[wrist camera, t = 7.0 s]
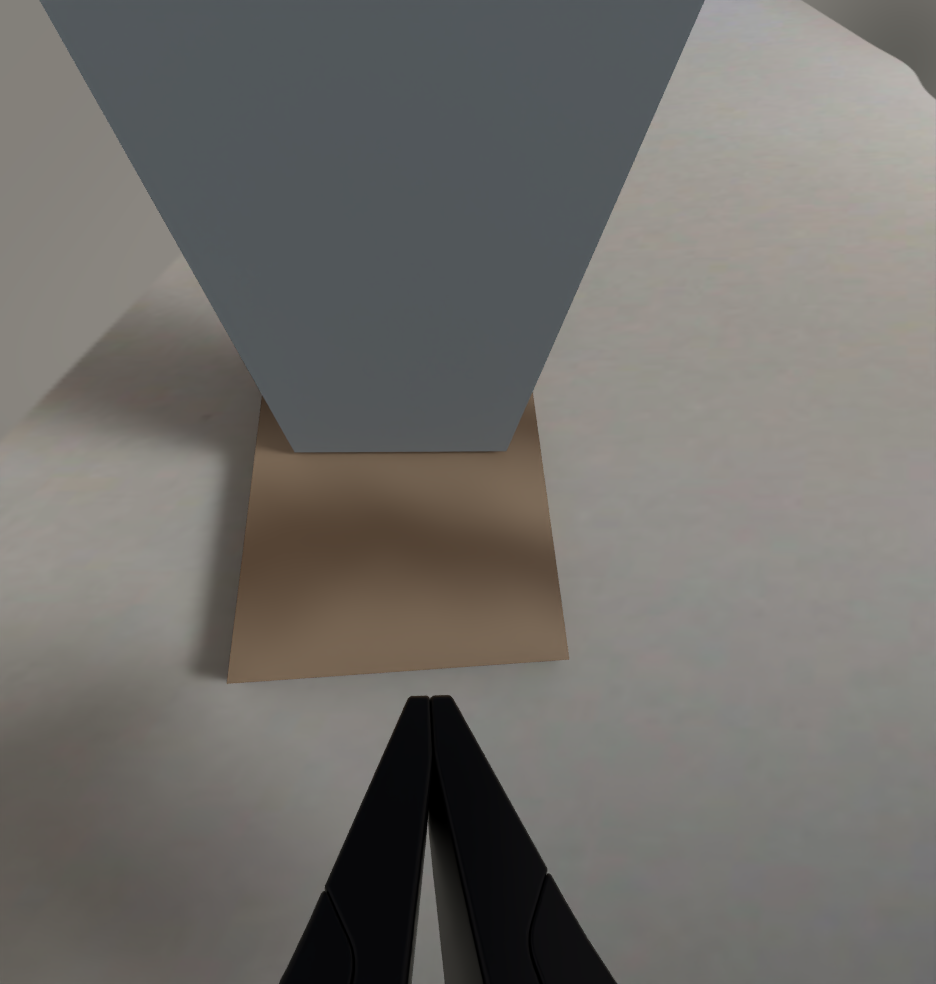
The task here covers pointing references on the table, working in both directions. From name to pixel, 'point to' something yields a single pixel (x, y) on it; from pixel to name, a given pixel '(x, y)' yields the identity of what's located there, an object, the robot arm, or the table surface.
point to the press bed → (395, 561)
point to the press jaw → (383, 186)
